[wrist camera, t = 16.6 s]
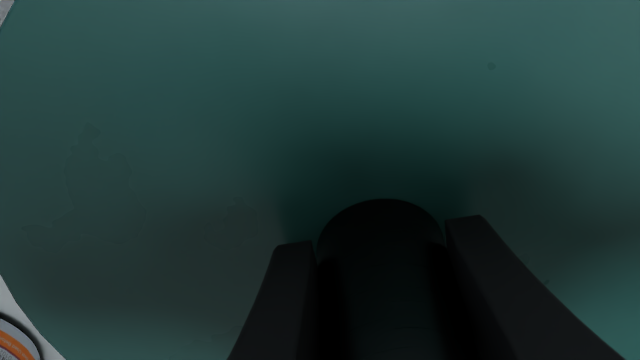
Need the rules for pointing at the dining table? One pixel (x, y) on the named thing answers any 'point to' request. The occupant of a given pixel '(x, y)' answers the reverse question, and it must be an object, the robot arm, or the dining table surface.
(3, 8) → the dining table surface
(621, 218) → the tin lid
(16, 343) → the pill bottle
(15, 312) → the dining table surface
